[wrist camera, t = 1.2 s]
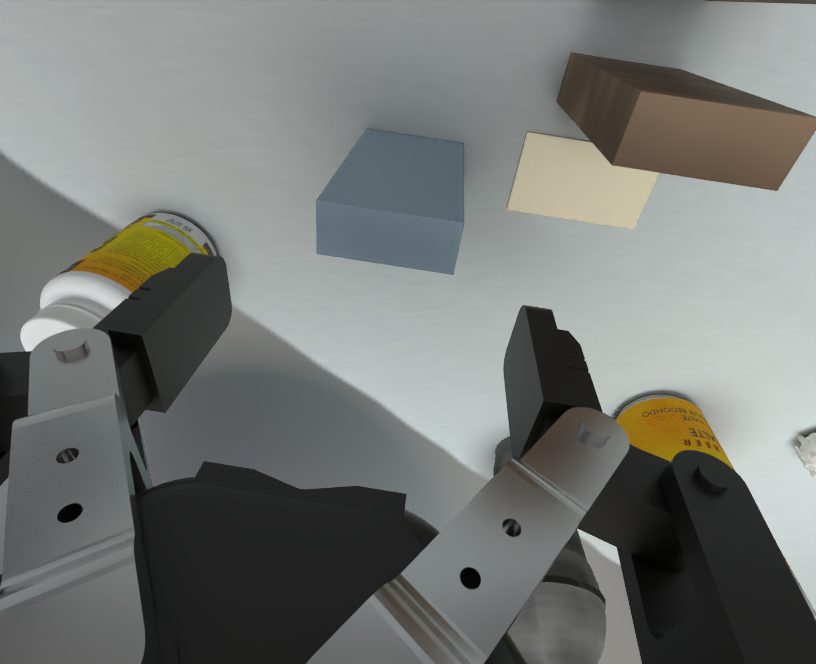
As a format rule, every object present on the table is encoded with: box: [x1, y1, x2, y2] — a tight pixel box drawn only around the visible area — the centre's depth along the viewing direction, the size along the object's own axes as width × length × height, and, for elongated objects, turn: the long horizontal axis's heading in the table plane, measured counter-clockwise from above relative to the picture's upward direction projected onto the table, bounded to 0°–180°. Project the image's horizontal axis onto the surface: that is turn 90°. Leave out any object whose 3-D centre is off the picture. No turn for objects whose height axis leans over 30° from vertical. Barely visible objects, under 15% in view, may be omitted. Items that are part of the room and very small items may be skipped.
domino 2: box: [557, 53, 816, 191], centre depth 17 cm, size 2×5×10 cm, turn 83°
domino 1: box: [316, 128, 464, 275], centre depth 20 cm, size 2×5×10 cm, turn 83°
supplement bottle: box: [21, 213, 217, 352], centre depth 24 cm, size 6×6×10 cm
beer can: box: [615, 395, 816, 619], centre depth 27 cm, size 6×6×15 cm
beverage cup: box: [494, 437, 606, 664], centre depth 29 cm, size 7×7×20 cm
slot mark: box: [507, 132, 659, 229], centre depth 23 cm, size 4×7×1 cm, turn 83°
